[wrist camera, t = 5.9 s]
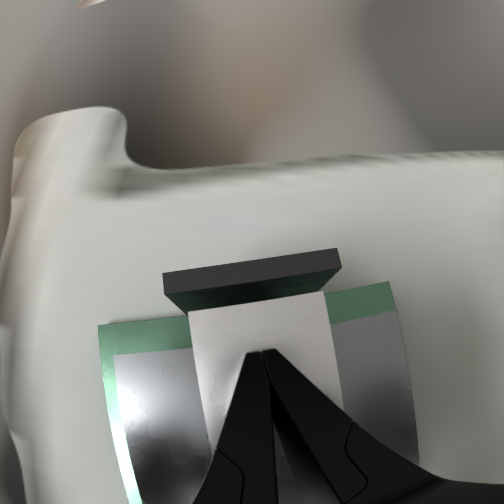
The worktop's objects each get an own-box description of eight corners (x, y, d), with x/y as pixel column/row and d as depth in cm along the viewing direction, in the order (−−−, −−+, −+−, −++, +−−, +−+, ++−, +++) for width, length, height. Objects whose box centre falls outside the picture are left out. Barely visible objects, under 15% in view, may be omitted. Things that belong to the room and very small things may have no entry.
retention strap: (355, 592, 6) (359, 599, 6) (258, 612, 6) (259, 620, 5) (318, 294, 10) (323, 290, 9) (190, 313, 10) (187, 311, 9)
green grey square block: (412, 518, 12) (489, 569, 4) (159, 566, 11) (123, 646, 3) (381, 285, 18) (469, 227, 10) (104, 327, 16) (11, 293, 8)
